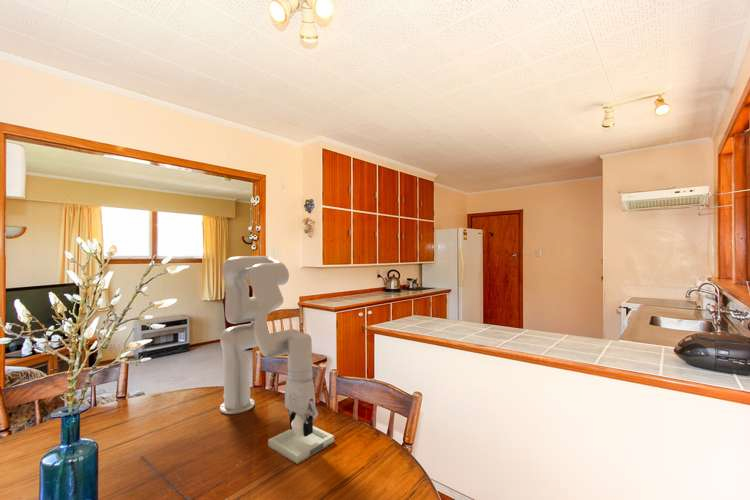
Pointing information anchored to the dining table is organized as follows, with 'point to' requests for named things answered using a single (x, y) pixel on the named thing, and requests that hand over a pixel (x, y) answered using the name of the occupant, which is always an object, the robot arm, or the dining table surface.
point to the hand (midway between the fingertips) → (301, 430)
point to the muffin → (298, 425)
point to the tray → (300, 444)
